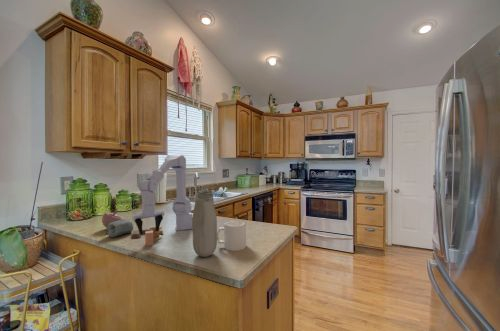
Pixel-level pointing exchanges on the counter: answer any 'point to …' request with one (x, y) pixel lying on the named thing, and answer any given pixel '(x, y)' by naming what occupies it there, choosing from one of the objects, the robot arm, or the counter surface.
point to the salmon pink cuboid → (148, 238)
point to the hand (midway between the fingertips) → (149, 232)
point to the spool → (119, 227)
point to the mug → (233, 235)
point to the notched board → (136, 233)
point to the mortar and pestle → (110, 218)
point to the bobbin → (155, 233)
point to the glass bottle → (204, 224)
